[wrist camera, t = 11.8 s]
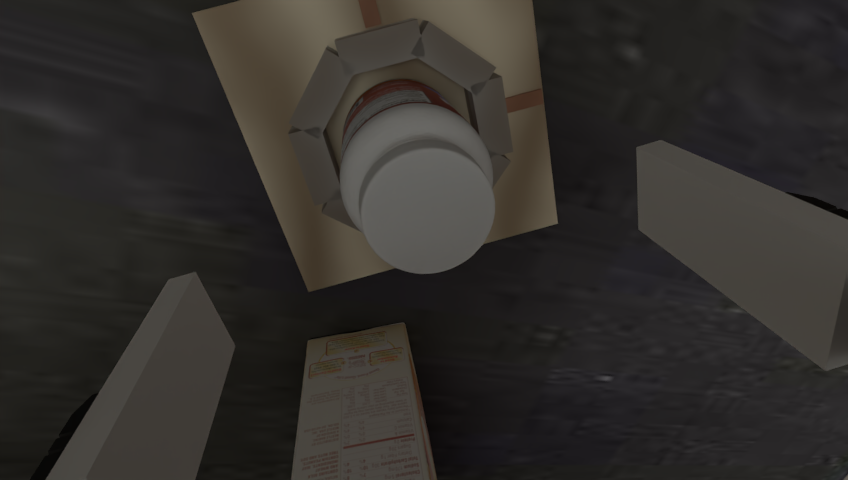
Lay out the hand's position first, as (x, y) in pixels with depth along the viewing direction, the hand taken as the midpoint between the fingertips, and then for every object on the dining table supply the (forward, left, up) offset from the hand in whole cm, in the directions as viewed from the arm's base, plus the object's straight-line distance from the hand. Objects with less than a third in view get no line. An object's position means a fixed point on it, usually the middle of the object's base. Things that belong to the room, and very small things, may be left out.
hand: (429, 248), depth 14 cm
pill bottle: (0, 0, -14) cm, 14 cm away
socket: (0, 0, -15) cm, 15 cm away
